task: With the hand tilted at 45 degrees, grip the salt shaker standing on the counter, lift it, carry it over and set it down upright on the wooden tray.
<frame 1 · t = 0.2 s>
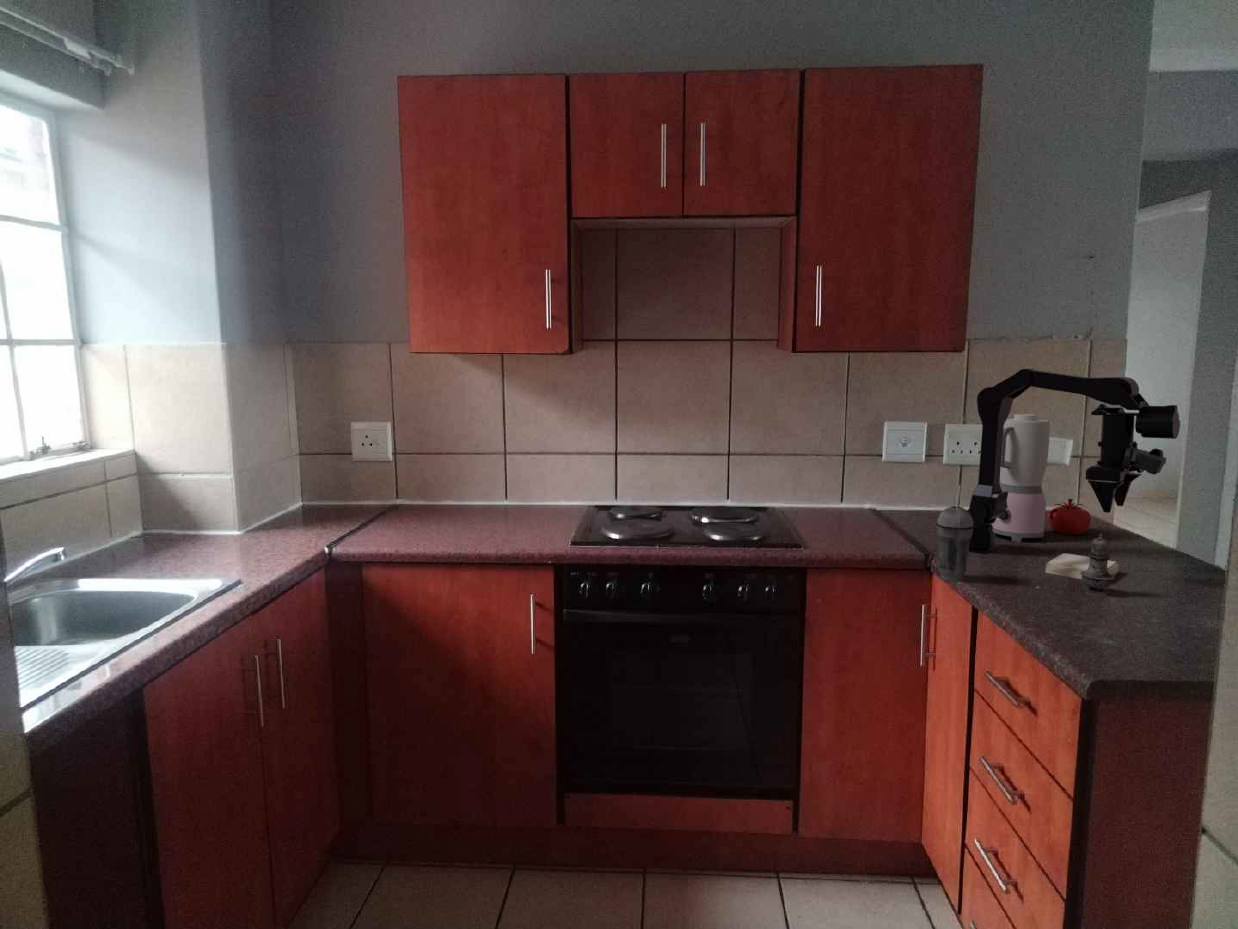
hand: (1113, 509, 159), 14 cm above the worktop, tool pointing down, fingers open, 9 cm apart
beverage cup: (951, 578, 159), on the worktop
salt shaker: (1095, 593, 149), on the worktop
blender: (1012, 538, 194), on the worktop
wooden tray: (1081, 572, 162), on the worktop
red tomato: (1067, 533, 199), on the worktop
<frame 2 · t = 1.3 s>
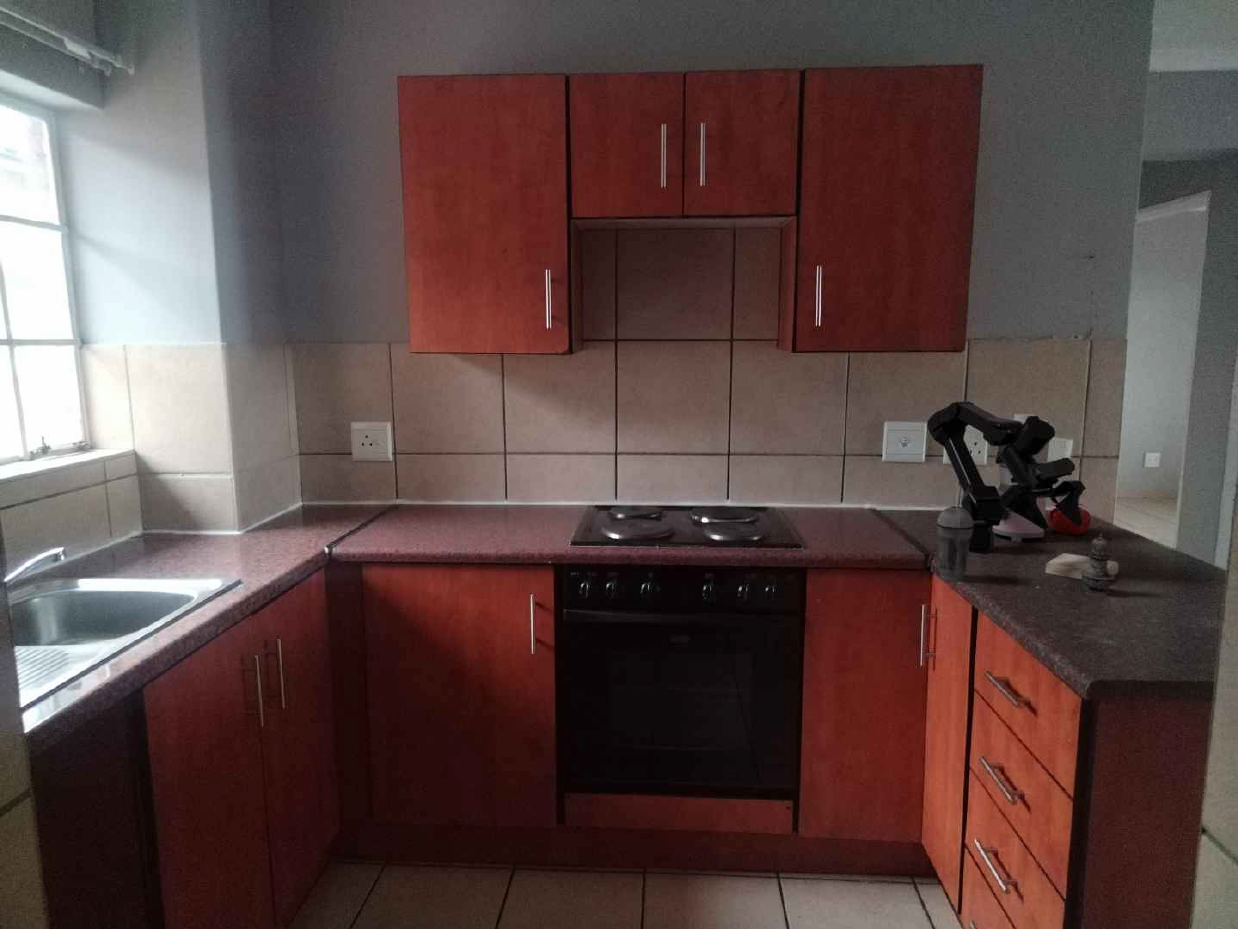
hand: (1063, 527, 155), 11 cm above the worktop, tool tilted 45°, fingers open, 9 cm apart
nothing on the worktop moved.
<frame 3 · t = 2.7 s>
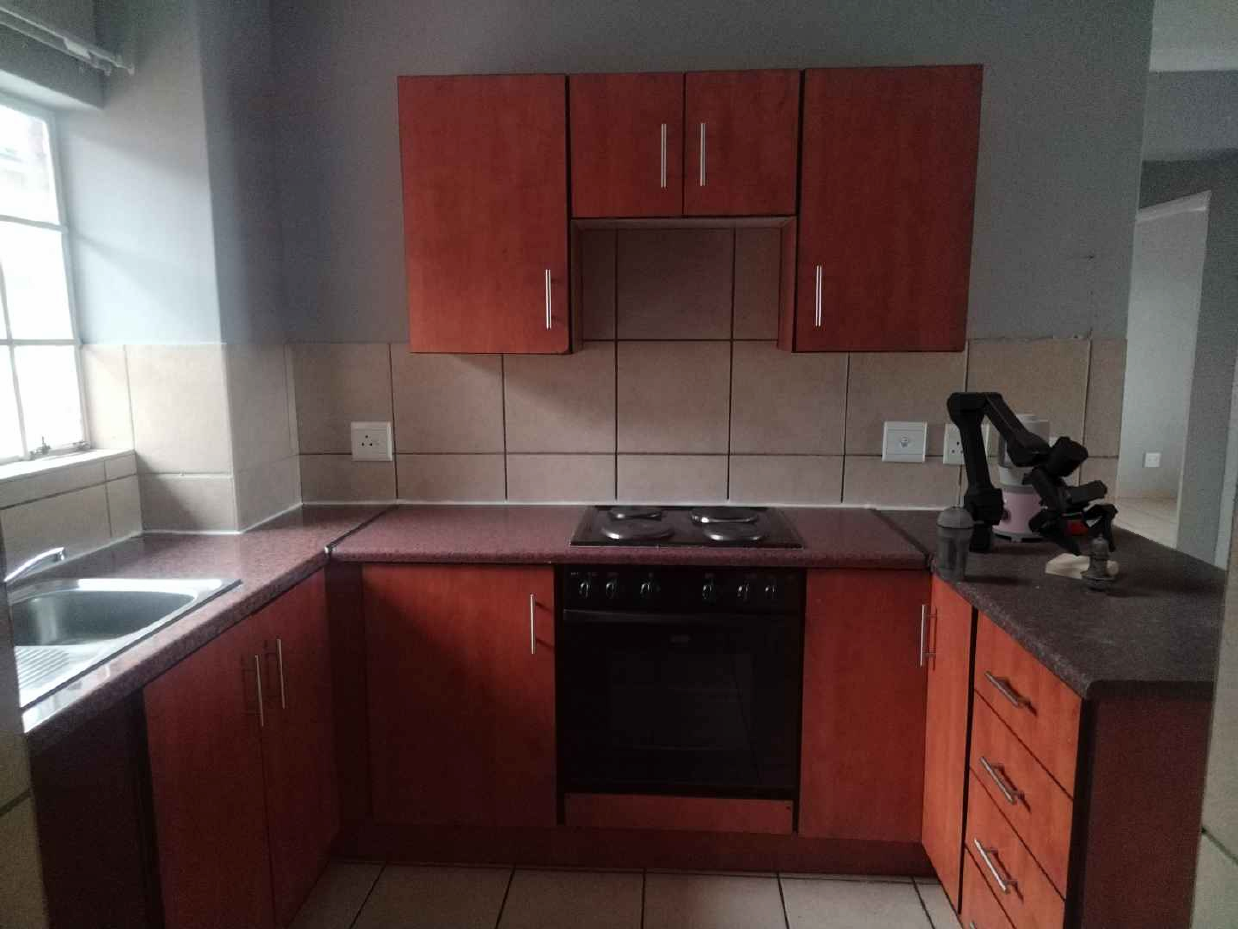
hand: (1096, 553, 148), 8 cm above the worktop, tool tilted 45°, fingers open, 9 cm apart
nothing on the worktop moved.
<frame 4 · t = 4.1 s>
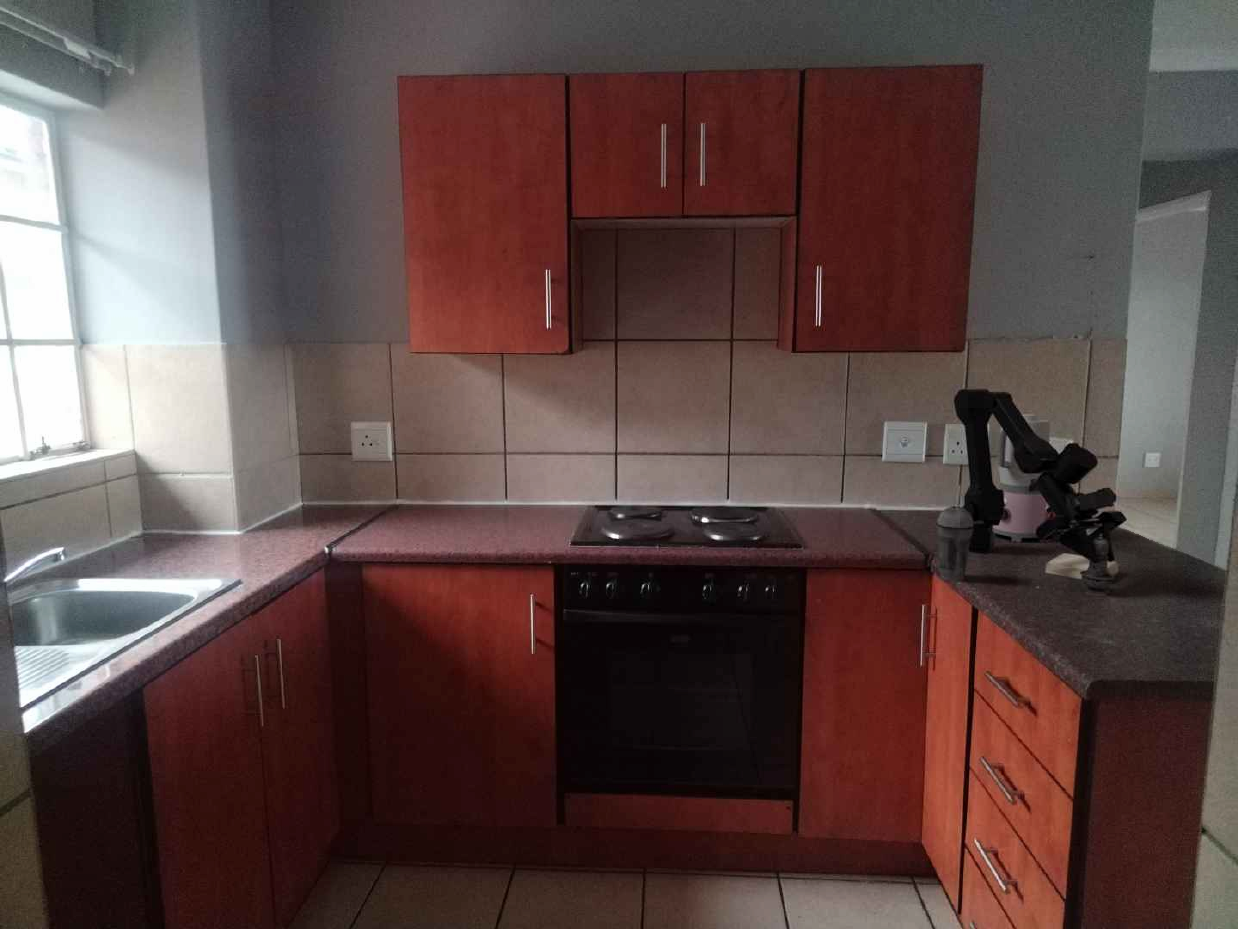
hand: (1105, 561, 147), 7 cm above the worktop, tool tilted 45°, fingers closed on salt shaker, 3 cm apart
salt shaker: (1095, 593, 149), on the worktop, touching gripper
everything else where it was.
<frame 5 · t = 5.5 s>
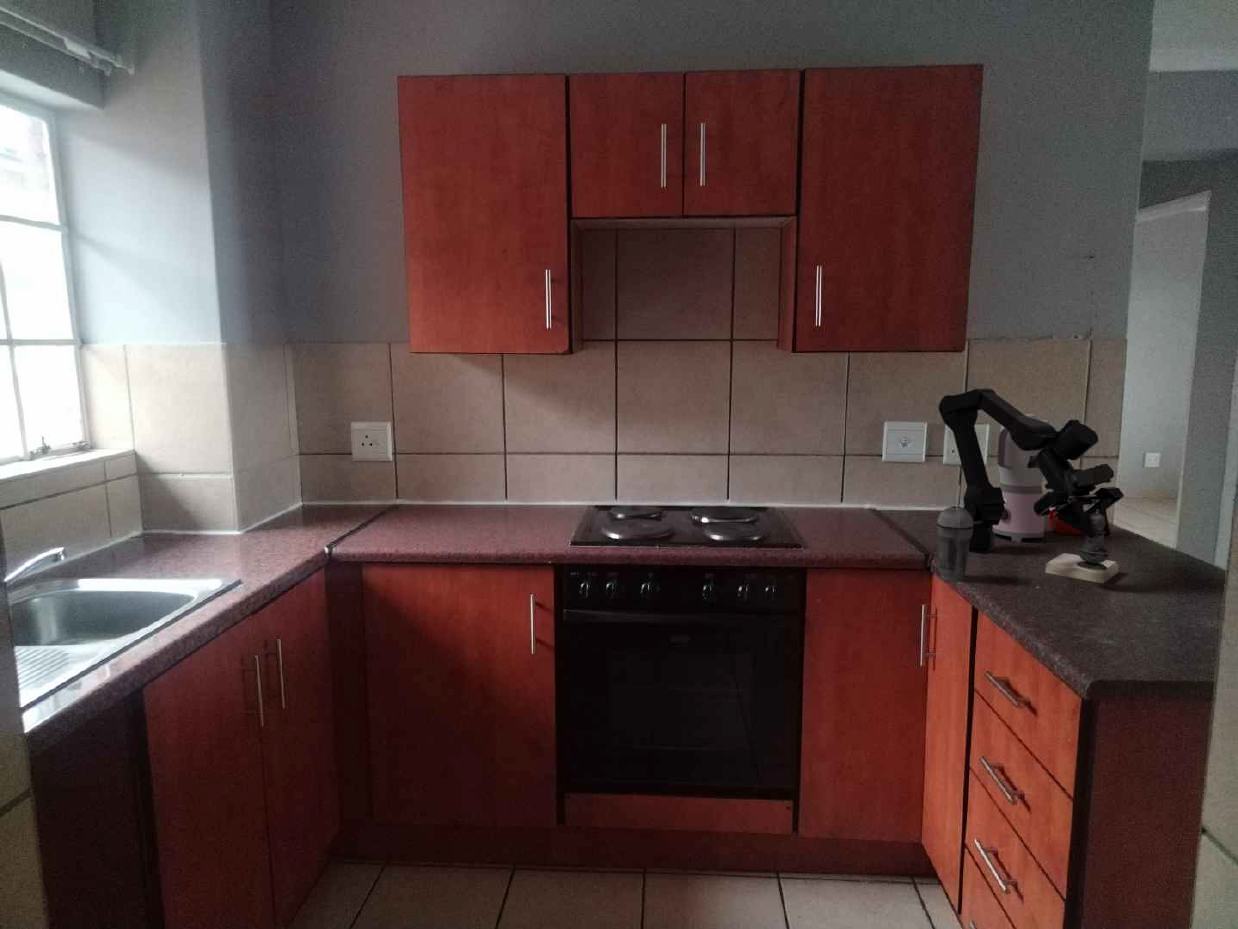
hand: (1101, 536, 149), 11 cm above the worktop, tool tilted 45°, fingers closed on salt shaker, 3 cm apart
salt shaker: (1091, 567, 152), point 4 cm above the worktop, touching gripper
everything else where it was.
when the fingers open (10 cm above the worktop, at t = 7.0 s): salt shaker stays where it is, resting on wooden tray.
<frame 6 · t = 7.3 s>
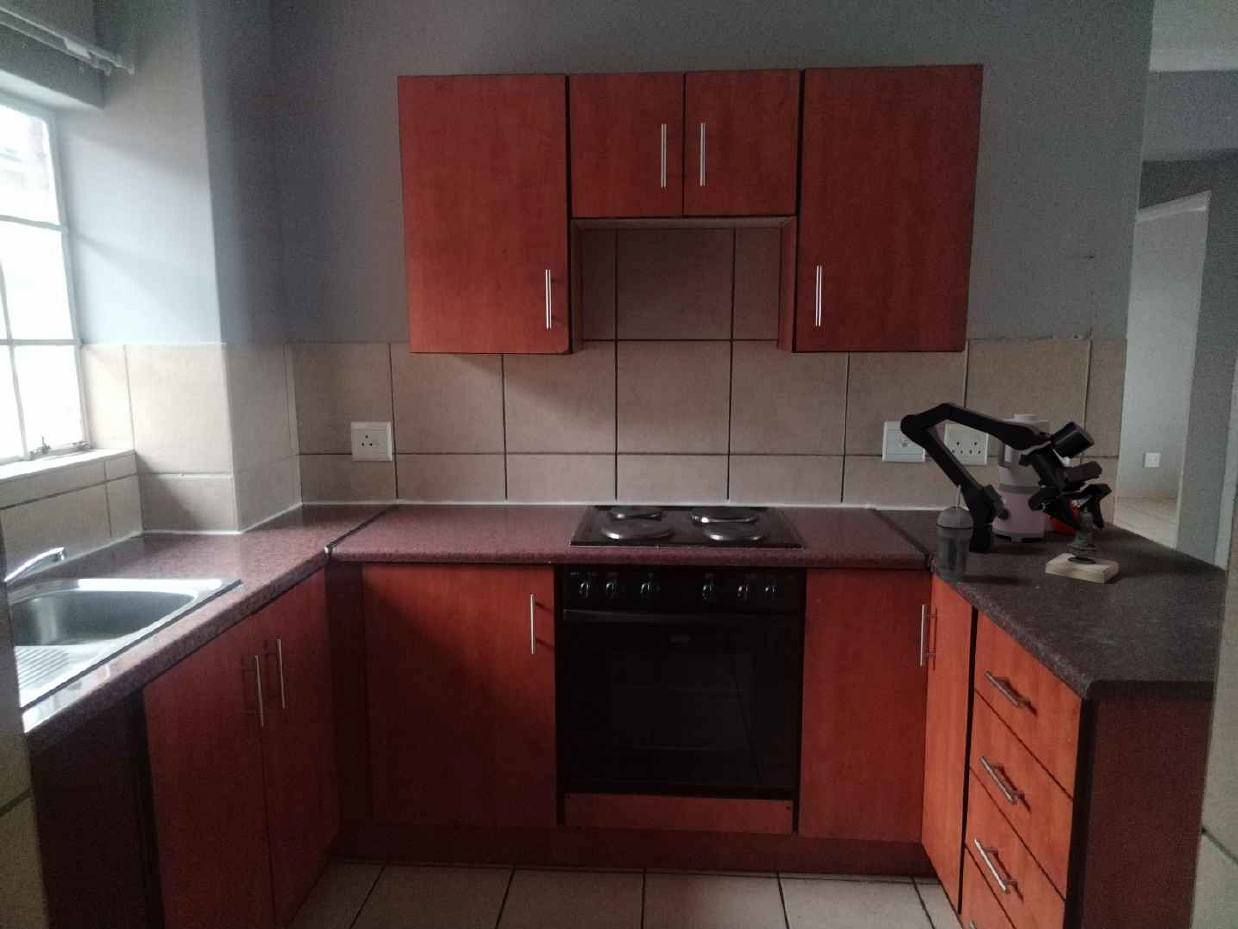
hand: (1091, 529, 159), 10 cm above the worktop, tool tilted 45°, fingers open, 6 cm apart
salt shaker: (1081, 562, 162), point 2 cm above the worktop, touching wooden tray
everything else where it was.
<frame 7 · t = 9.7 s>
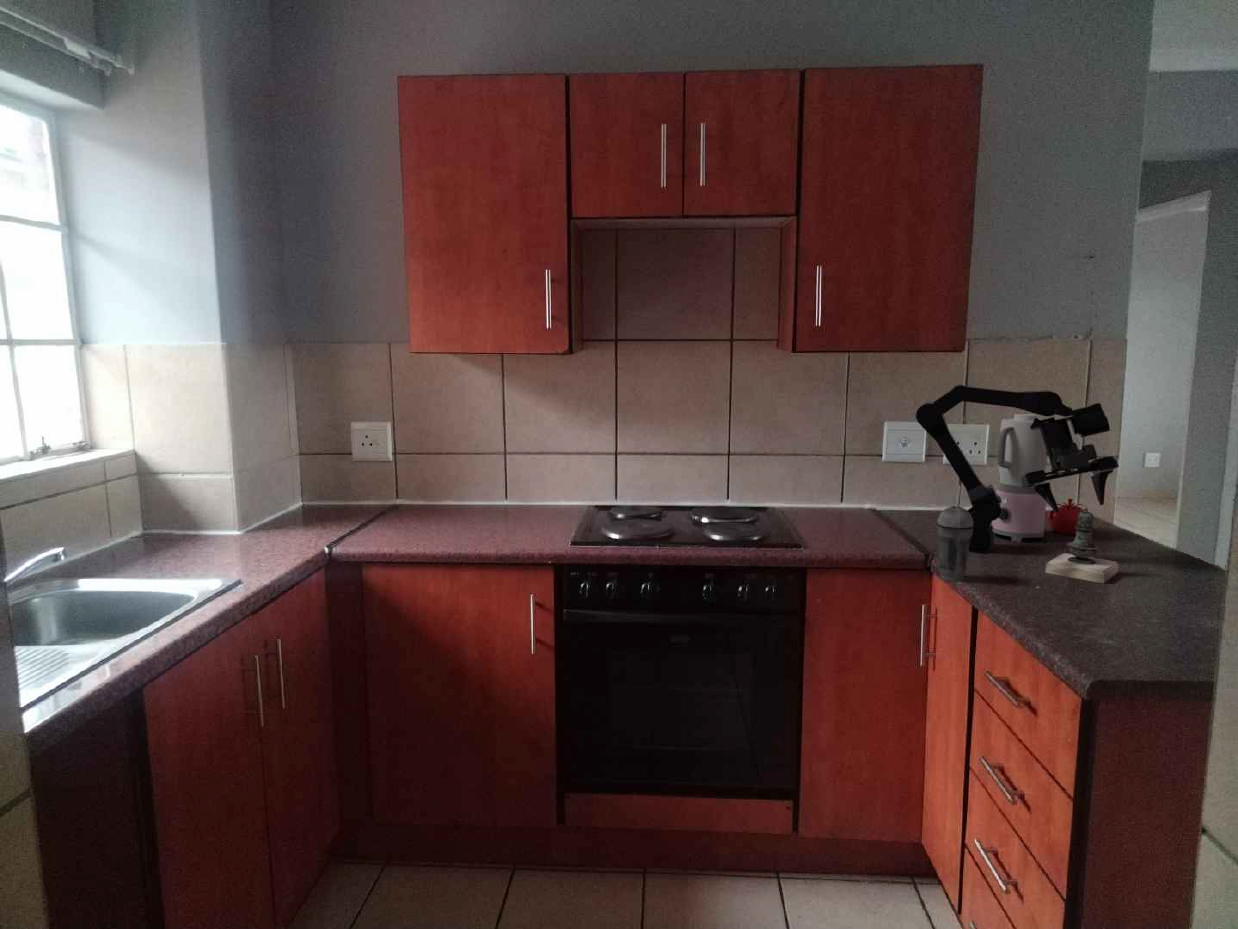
hand: (1079, 509, 168), 13 cm above the worktop, tool tilted 25°, fingers open, 9 cm apart
nothing on the worktop moved.
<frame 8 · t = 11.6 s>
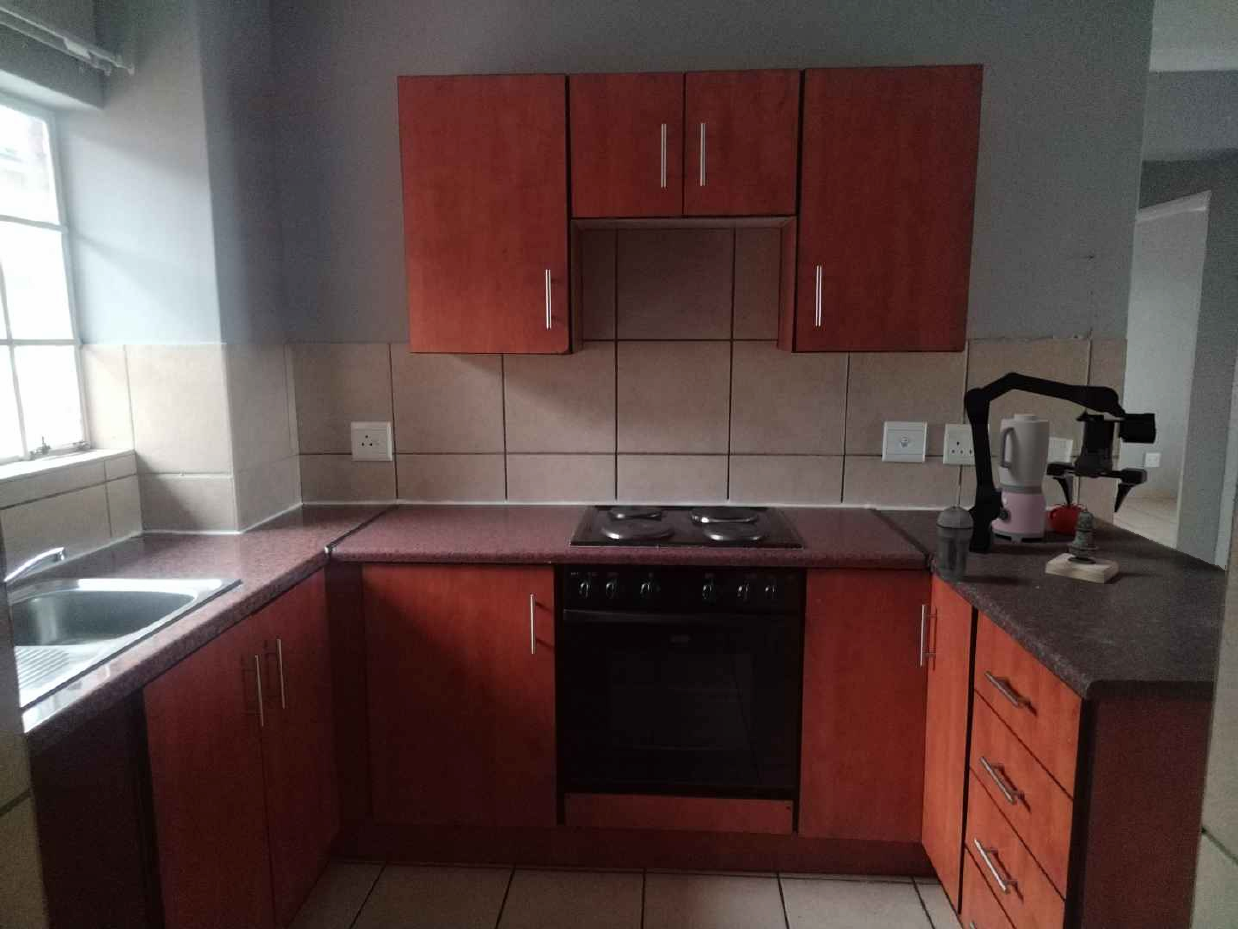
hand: (1092, 509, 170), 12 cm above the worktop, tool pointing down, fingers open, 9 cm apart
nothing on the worktop moved.
at the end: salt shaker inside the target area on the wooden tray (0.2 cm from its centre), point 2.3 cm above the wooden tray's base; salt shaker tilted 0°; the gripper is holding nothing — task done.
